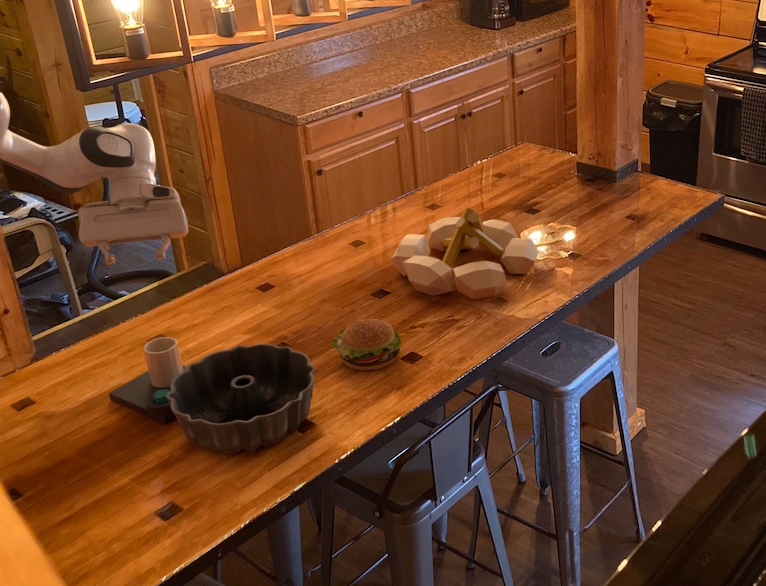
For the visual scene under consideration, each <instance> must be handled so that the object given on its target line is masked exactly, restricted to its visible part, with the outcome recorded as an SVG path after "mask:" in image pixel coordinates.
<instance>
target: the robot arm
mask: <svg viewBox="0 0 766 586" xmlns="http://www.w3.org/2000/svg"><path fill="white" fill-rule="evenodd" d="M10 119H11V108H10V105H9V102H8V99H7V98H6V97H5V95H4V94H3V92H1V91H0V163H2V164H4V165H7V166H9V167H12V168H14V169H16V170H19V171H21V172H23V173H25V174H28V175H30V176H32V177H34V178H35V179H38V180H39V181H40V182H42V183H43V184H45V185H46V186H47V187H49V188H50V189H52V190H53V191H55V192H58V193H61V194H67V195H70V194H72V195H73V194H76V193H80V192H81V191H83V190H84V189H86V187H88V186H89V185H91V184H92V183H94V182H95V181H97V180H99V179H100V178H104V179H108V181H109V200H101V201H97V202H94V201H91V202H86V204H84V205H82V206H81V207H80V208H79V210H78V220H79V222H80V223H79V229H78V239H79V241H80V242H81V244H83V245H84V246H85V247H86V248H93V247H98V248H99V249H100V251H101V252H102V253H103V255H104V261H105V264H106V266H110V265H115V264H116V261H115V260H116V255H115V254H114V253H109V252H108V250H110V246H111V245H122V244H131V243H139V242H140V243H141V242H151V241H161V243H162V244H161V245H160V247H159V248H155V258H156V260H165V259H166V252H167V250H168V248H169V247H170V245H171V239H181V238H186V236H187V235H188V234H189V223H188V218H187V215H186V212H185V209H184V208H183V205H182V204H181V203H182V202H181V197H180V194H179V192H178V191H177V190H176V189H175V188H174V187H170V186H165V185H164V186H163V185H160V184H158V183H157V181H156V177H155V172H156V168H157V161H156V160H157V159H156V150H155V149H156V148H155V144H154V140H153V138H152V135H151V133H150V131H149V130H148V129H147V128H145V127H144V126H142V125H140V124H136V123H132V122H123V123H119V124H117V125H115V126H112V127H103V126H98V125H97V126H95V125H94V126H89V127H87V128H84V129H83V130H81V131H79V132H78V133H76V134H74V135H72V136H71V137H70V138H68V139H66V140H65V141H63V142H62V143H60V144H56V145H52V146H50V145H49V146H45V145H41V144H39V143H37V142H34V141H32V140H30V139H27V138H25V137H23V136H21V135H19V134H17V133H15V132H12V131H11V130H10V129H9V125H10Z"/></svg>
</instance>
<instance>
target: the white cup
mask: <svg viewBox="0 0 766 586" xmlns="http://www.w3.org/2000/svg"><path fill="white" fill-rule="evenodd" d="M142 350H143V355H144V360H145V364H146V369H147V371H148V374H149V379H150V382H151V384H152V385H153V386H154V387H159V388H164V387H169V386H170V385H171V382H172V380H173V379H174V378H175V377H176V376H177V375H179V374H180V373H182V372H183V367H182V365H183V362H182V358H181V352H180V347H179V343H178V340H177V339H176V338H174V337H171V336H163V337H156V338H154V339H151V340H149V341H147V342H146V343H145V344H144V345H143V348H142Z"/></svg>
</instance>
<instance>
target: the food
mask: <svg viewBox="0 0 766 586" xmlns="http://www.w3.org/2000/svg"><path fill="white" fill-rule="evenodd" d="M400 336H401V335H400V334H399V332H398V331H397V328H395V329H394V327H393V326H392V324H390V323H388V322H387V321H385V320H382V319H380V318H379V319H378V318H364V319H360V320H356V321H354V322H353V323H351V324H349V325H348V326H347V327H346V328H342V329H341V330H340V331H339V333H338V334H337V337H335V336H334V337H333V339H332V340H331V345H332V346H333V349H335V350H336V351H337V352H338V353H339V357H340V359H341V360H342V363H343V364H344V365H345V366H346V367H348V368H349V369H351V370H356V371H361V372H366V371H376V370H379V369H383V368H385V367H387V366H389V365H391V364H392V363H394V361H395V360H396V359H397V357H398V356H399V353H400V349H401V345H402V340H401V337H400Z"/></svg>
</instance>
